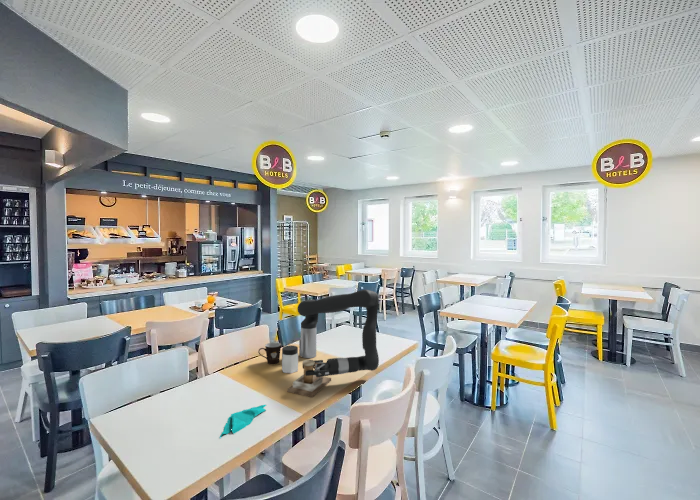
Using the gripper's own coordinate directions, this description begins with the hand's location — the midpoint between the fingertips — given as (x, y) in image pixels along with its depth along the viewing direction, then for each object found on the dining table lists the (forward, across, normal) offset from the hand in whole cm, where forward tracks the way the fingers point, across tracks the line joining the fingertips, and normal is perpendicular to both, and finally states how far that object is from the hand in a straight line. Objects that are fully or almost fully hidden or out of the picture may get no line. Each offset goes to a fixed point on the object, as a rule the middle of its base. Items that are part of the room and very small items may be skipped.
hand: (304, 369), depth 157 cm
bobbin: (-2, 0, +8) cm, 8 cm away
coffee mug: (+13, -37, +9) cm, 40 cm away
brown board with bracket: (-3, -2, +9) cm, 9 cm away
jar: (+4, -23, +9) cm, 25 cm away
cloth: (+27, +20, +10) cm, 35 cm away
